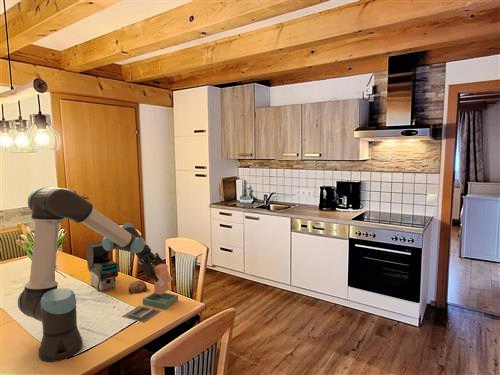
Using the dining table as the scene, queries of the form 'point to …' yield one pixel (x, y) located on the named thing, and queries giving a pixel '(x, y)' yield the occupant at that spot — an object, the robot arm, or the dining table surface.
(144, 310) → the gray recessed plate
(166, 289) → the salmon pink block
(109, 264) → the bill acceptor
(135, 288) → the bread roll
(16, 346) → the dining table surface
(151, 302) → the tray
